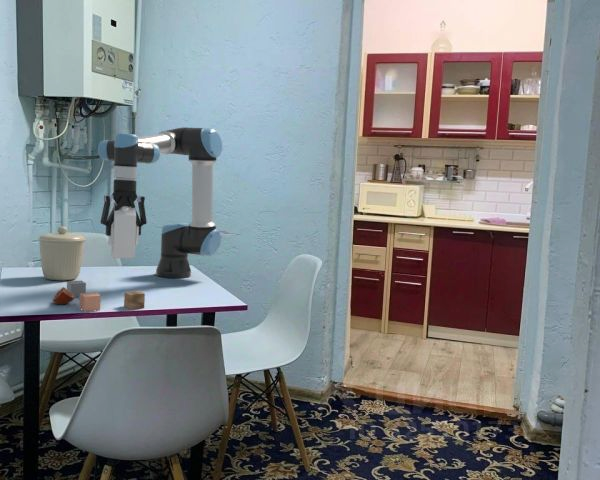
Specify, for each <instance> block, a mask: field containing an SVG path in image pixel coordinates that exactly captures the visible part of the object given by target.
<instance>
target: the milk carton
mask: <svg viewBox="0 0 600 480" xmlns="http://www.w3.org/2000/svg"><path fill="white" fill-rule="evenodd" d="M115 205H117V204H116V202H115V201H113V207H114V209H115ZM134 205H135V206H136V202H134ZM113 207H112V208H113ZM135 209H136V207H135V208H131V206H130V207H128V206H121V207H120V209H119V210H117V211H114V221H113V223H112V226H113V227H114V239H113V246H111V256H112V258H113V259H136V245H135V238H136V211H137V209H136V210H135Z"/></svg>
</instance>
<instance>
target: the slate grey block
mask: <svg viewBox="0 0 600 480" xmlns="http://www.w3.org/2000/svg"><path fill="white" fill-rule="evenodd" d="M66 289H67V290H68V291H69V292H71V293H72V294H73V295H74V297H76V298H80V293H87V292H86V291H87V282H85V281H83V280H66Z"/></svg>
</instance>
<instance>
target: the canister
mask: <svg viewBox="0 0 600 480" xmlns="http://www.w3.org/2000/svg"><path fill="white" fill-rule="evenodd" d="M36 238H37V240H38V243H39V254H40V263H41V270H42V275H43V277H44V278H45V279H47V280H49V281H64V282H65V281H74V280H75V279H77V278H78V277H79V275H80V273H81V269H82V262H83V255H84V254H83V253H84V248H85V242H86V241H87V238H86V237H84V236H83V235H81V234H78V233H72V232H71V233H69V232H68V228H67V227H66V226H59V227H58V228H57V232H49V233H48V232H47V233H43V234H41V235H40V236H38V237H36Z"/></svg>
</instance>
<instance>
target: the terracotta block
mask: <svg viewBox="0 0 600 480" xmlns="http://www.w3.org/2000/svg"><path fill="white" fill-rule="evenodd" d="M78 301H79V303H78V304H79V305H78V307H79V308H80V309H79V310H81V309H82V310H83V311H82V310H81V311H82V312H84V311H89V312H95V311H94V310H100V311H101V295H100V294H99V293H97V292H86V293H80V297H79V300H78Z"/></svg>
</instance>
